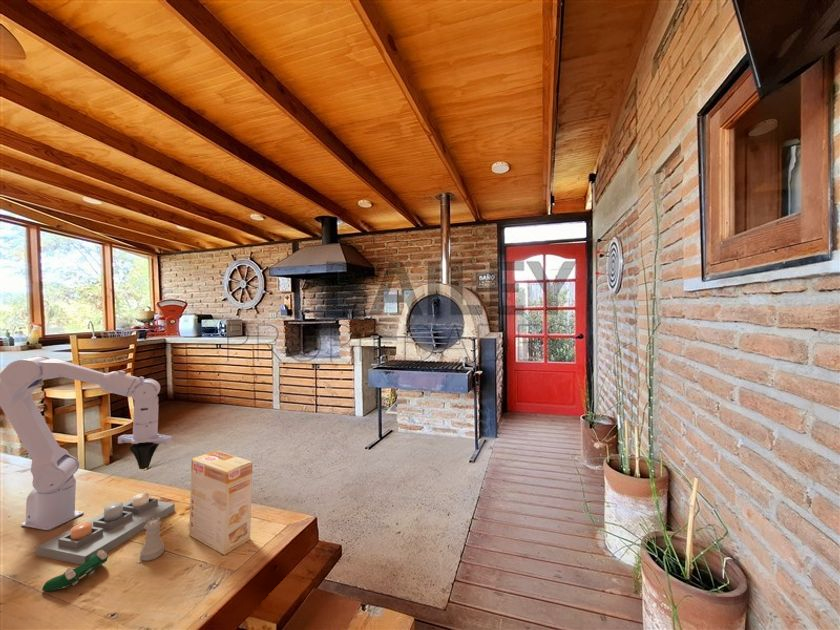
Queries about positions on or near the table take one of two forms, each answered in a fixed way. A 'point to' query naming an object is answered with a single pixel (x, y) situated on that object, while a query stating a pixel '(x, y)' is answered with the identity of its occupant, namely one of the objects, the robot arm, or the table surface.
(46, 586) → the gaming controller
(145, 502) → the button ivory
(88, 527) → the button terracotta
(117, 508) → the button light grey
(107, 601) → the table surface
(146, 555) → the rook chess piece
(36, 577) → the table surface
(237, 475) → the coffeecake box
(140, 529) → the panel
